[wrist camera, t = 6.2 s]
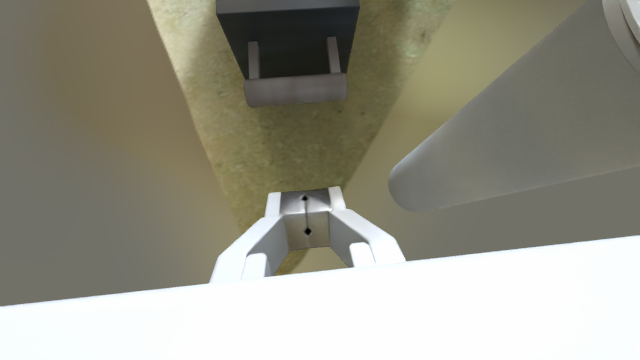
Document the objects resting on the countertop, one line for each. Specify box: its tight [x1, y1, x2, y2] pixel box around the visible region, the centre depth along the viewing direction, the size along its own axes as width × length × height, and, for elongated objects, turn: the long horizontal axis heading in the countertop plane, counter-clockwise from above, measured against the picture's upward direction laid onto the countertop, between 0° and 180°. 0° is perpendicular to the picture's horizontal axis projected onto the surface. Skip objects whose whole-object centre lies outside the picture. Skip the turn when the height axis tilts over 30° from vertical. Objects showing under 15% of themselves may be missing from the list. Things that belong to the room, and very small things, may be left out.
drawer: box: [216, 0, 360, 107], centre depth 17 cm, size 15×8×6 cm, turn 6°
